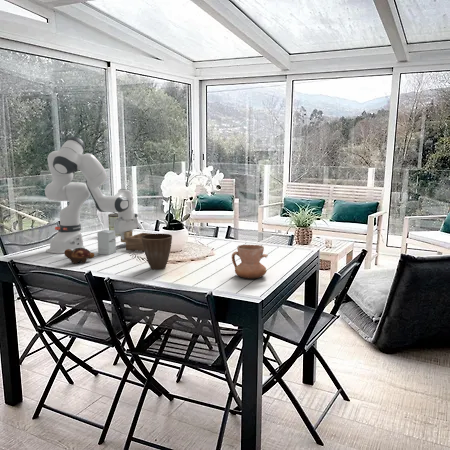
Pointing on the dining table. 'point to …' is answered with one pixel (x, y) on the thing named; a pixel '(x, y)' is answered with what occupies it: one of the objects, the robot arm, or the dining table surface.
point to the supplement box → (106, 242)
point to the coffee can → (112, 222)
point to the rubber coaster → (122, 245)
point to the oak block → (126, 235)
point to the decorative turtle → (78, 255)
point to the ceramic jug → (249, 261)
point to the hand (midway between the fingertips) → (126, 238)
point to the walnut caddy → (135, 242)
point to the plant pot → (157, 249)
